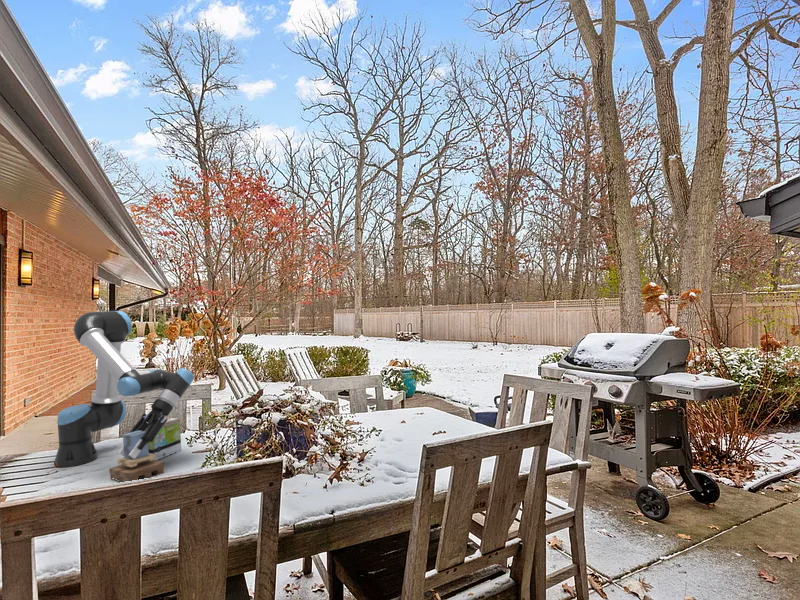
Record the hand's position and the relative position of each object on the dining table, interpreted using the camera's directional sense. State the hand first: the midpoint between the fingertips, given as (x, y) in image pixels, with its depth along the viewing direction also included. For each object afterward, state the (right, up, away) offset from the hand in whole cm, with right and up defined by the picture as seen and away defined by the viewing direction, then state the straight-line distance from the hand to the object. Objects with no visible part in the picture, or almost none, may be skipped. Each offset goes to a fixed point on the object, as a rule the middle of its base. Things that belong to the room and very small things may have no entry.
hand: (126, 455), depth 175 cm
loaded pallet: (+2, -3, +3) cm, 5 cm away
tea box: (-2, -9, +27) cm, 29 cm away
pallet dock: (+2, -9, +3) cm, 10 cm away
